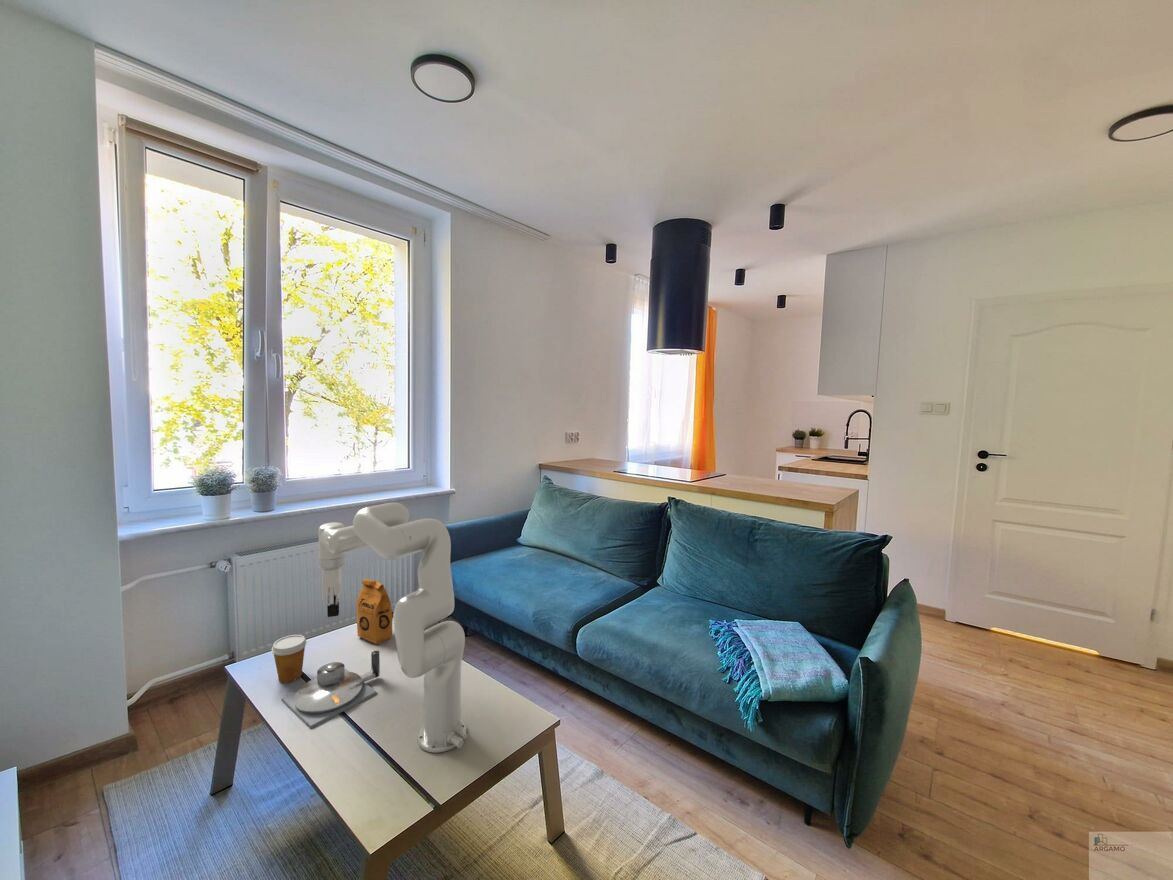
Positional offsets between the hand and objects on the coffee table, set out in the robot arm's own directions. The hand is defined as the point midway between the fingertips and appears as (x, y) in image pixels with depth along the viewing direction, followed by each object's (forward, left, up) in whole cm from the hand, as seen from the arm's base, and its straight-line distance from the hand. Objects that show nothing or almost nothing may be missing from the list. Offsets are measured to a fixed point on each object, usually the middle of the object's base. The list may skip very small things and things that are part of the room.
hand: (333, 615), depth 151 cm
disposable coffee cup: (+8, +10, -20) cm, 24 cm away
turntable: (-13, +4, -18) cm, 23 cm away
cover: (-8, +5, -17) cm, 19 cm away
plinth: (-12, +7, -19) cm, 24 cm away
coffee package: (+10, -20, -20) cm, 30 cm away
